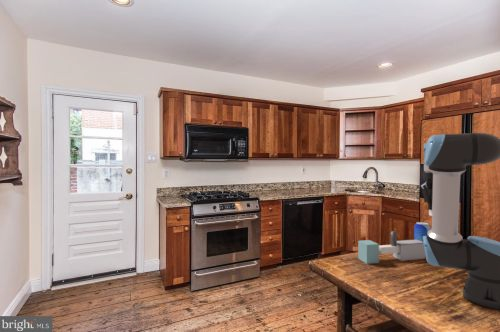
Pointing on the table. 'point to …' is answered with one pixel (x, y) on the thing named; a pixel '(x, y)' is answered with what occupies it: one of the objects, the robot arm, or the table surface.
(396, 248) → the sliding bolt with handle
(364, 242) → the socket block
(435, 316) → the table surface
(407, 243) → the white rectangular box
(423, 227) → the beer can
